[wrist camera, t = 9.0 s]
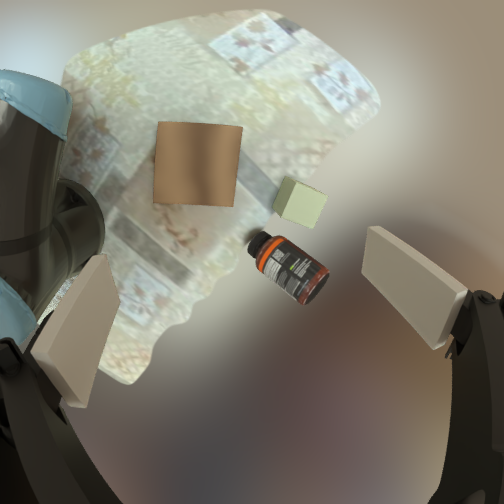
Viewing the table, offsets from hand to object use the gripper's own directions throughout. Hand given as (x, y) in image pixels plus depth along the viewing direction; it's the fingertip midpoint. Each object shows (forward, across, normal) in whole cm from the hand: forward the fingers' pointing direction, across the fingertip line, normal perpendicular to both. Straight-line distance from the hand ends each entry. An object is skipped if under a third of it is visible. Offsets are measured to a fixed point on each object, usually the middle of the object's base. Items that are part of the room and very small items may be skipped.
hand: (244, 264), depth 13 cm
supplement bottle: (+16, +12, -14) cm, 25 cm away
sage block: (+26, +11, -4) cm, 29 cm away
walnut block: (+26, -3, +3) cm, 27 cm away
